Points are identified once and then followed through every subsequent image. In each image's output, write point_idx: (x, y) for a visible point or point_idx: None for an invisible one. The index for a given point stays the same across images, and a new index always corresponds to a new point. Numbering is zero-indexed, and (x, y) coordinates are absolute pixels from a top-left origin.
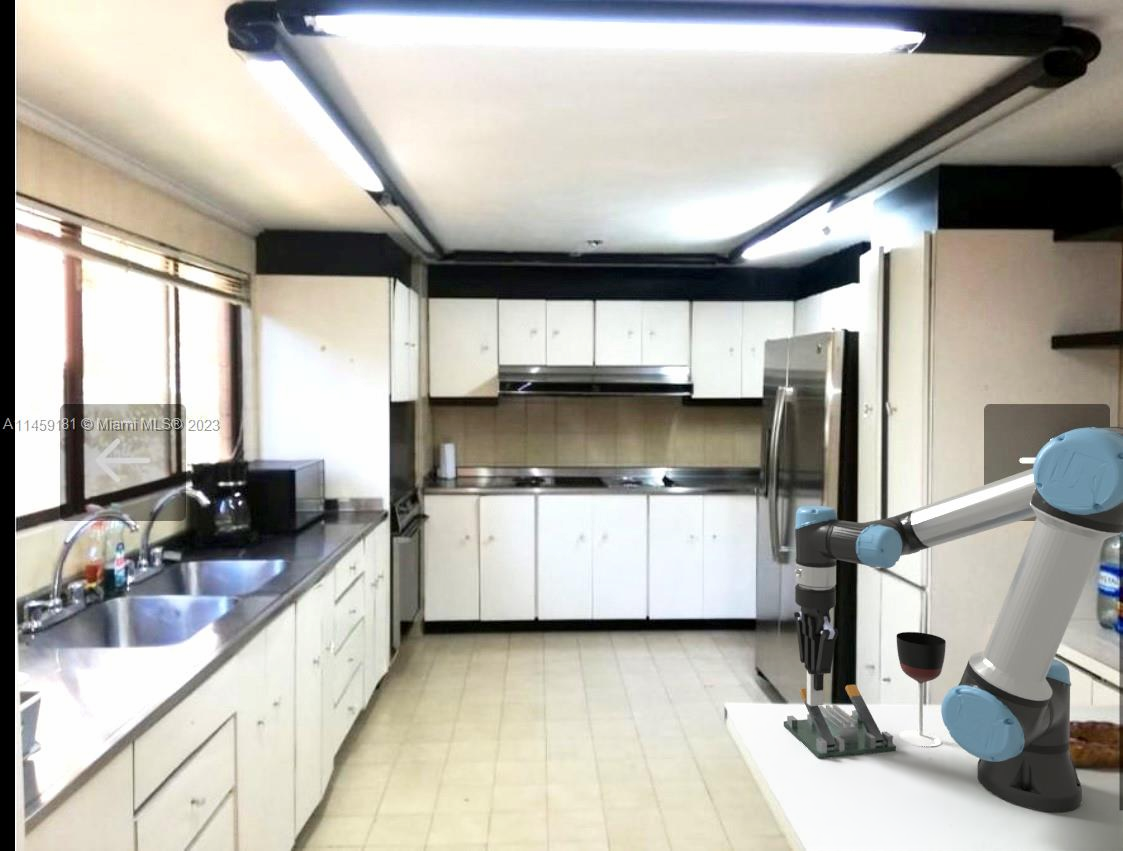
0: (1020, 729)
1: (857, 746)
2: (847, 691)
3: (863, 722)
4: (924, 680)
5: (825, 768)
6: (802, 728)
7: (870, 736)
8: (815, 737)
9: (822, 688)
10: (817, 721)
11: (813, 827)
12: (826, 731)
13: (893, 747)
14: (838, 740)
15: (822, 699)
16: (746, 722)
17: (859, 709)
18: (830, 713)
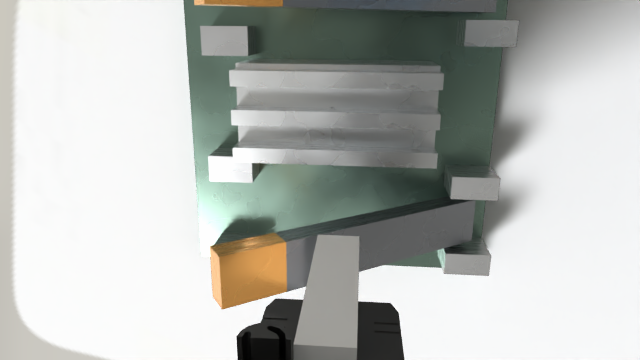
0: None
1: (469, 91)
2: (226, 5)
3: (403, 10)
4: None
5: (542, 272)
6: (271, 219)
7: (501, 38)
8: (354, 211)
9: (395, 315)
10: (387, 254)
11: None
12: (429, 225)
13: None
14: (488, 199)
15: (357, 253)
16: (161, 351)
17: (361, 4)
18: (326, 155)
